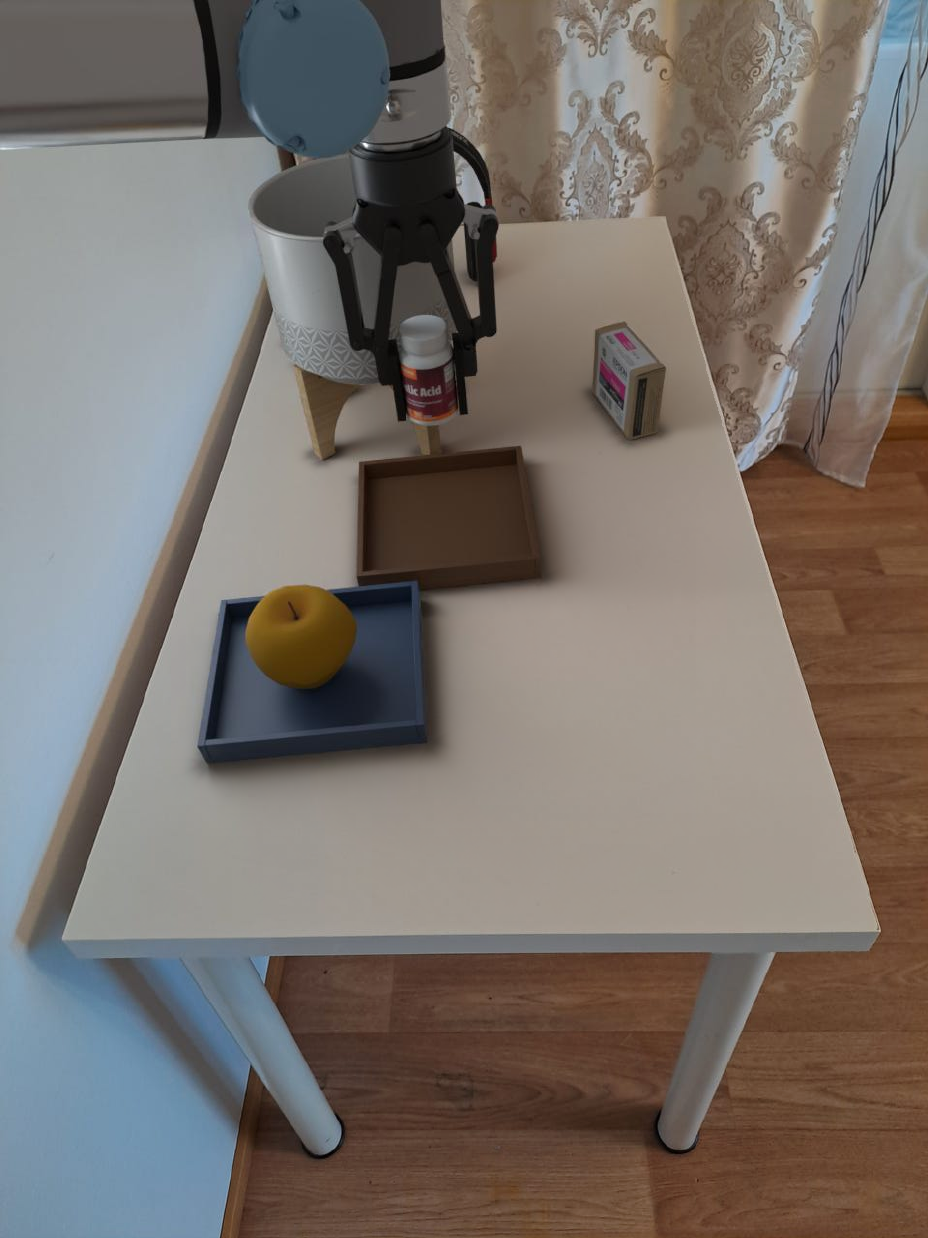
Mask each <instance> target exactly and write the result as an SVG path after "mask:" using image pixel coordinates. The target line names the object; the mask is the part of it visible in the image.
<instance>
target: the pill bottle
mask: <svg viewBox="0 0 928 1238" xmlns="http://www.w3.org/2000/svg"><path fill="white" fill-rule="evenodd" d="M399 336H400V344H401V347H400V349H399V352H398V360H399V366H400V372H401V380H402V386H403V393H404V401H405V407H406V417H407V419H409V420H410V422H412V421H413V422H414V423H417V424H420V425H425V426H435V425H443V424H446V423H447V422H450V421H451V420H452V419H454V417H455V416H456V415H457V413H458V411H459V403H458V393H457V382H456V372H455V362H454V351H453V344H452V342H451V343H450V342H449V341H448V332H447V325H446V323H445V321H444V320H443V319H441V318H439V317H437V316H433V315H419V316H415V317H412V318H409V319H407V320H406V321H404V322H403V323H402V324H401V325H400V327H399Z"/></svg>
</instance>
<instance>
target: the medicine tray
mask: <svg viewBox="0 0 928 1238" xmlns="http://www.w3.org/2000/svg"><path fill="white" fill-rule="evenodd" d="M523 453H524V452H523V448H522V445H513V446H503V447H502V446H501V447H492V448H481V449H471V450H463V451H462V450H461V451H451V452H442V454H432V455H423V454H422V455H412V456H403V457H393V458H392V457H391V458H383V459H374V460H364V461H363V460H361V461H359V462H358V481H357V483H358V484H357V485H358V486H357V487H358V488H357V533H356V534H357V535H356V575H355V576H356V580H357V581H356V582H357V585H358V586H357V587H360V586H370V585H380V584H390V583H400V582H410V581H411V582H412V581H418V585H419V591H420V590H429V589H430V590H431V589H441V588H450V587H460V586H461V587H462V586H470V585H471V586H473V585H481V584H490V583H500V582H501V583H503V582H511V581H521V580H533V579H540V578H542V556H541V551H540V544H539V539H538V532H537V527H536V522H535V516H534V510H533V504H532V498H531V494H530V493H531V492H530V488H529V483H528V477H527V471H526V466H525V465H526V464H525V460H524V459H525V458H524V454H523Z"/></svg>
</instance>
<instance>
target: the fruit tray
mask: <svg viewBox="0 0 928 1238" xmlns="http://www.w3.org/2000/svg"><path fill="white" fill-rule="evenodd" d="M326 590H327V591H330V592H331V593H332V594H333V595H334V596H335V597H337V598H338V599H339V600H340V601H341V602H342V603H344V604H345V605H346V606H347V608H348V609H349V610H350V611H351V613H352V615H353V617H354V619H355V622H356V625H357V633H356V639H355V644H354V646H353V648H352V650H351V652H350V654H349V656H348V657H347V659H346V661H345V662H344V664H343V665H342V667H341V668H340V669H339V671H338V672H337V673H336V674H335V675H334V676H333V677H332V678H331V679H330V680H329V681H328V682H327V683H326V684H324V685H322V686H320V687H317V688H315V689H296V688H292V687H288V686H284V685H280V684H278V683H276V682H275V681H273V680H272V679H270V678H268V677H267V676H265V675H264V674H263V672H262V671H261V670H260V669H259V668H258V667H257V666H256V664H255V662H254V660H253V658H252V656H251V653H250V651H249V649H248V647H247V645H246V637H245V632H246V628H247V624H248V620H249V617H250V616H251V614H252V612H253V611H254V609H255V607H256V606H257V605H258V603H259V602H260V601H261V599H262V598H263V597H265V596H266V595H260V596H249V597H238V598H230V599H221V600H220V605H219V610H218V618H217V622H216V623H217V624H216V630H215V635H214V642H213V647H212V648H213V649H212V654H211V661H210V665H209V673H208V678H207V686H206V691H205V697H204V703H203V710H202V716H201V723H200V729H199V734H198V740H197V741H198V742H197V748H198V750H199V752H200V755H201V756H202V758H203V760H204V762H205V764H206V765H212V764H222V763H231V762H232V763H233V762H242V761H252V760H254V761H255V760H263V759H272V758H283V757H294V756H303V755H305V756H306V755H313V754H316V755H317V754H324V753H326V754H327V753H335V752H346V751H356V750H364V749H365V750H366V749H376V748H386V747H387V748H388V747H397V746H398V747H399V746H406V745H416V744H417V745H418V744H427V743H428V730H427V729H428V728H427V705H426V685H425V665H424V664H425V662H424V659H425V658H424V641H423V639H424V638H423V636H424V635H423V618H422V598H421V591H420V590H419V585H418V581H412V582H411V581H410V582H400V583H390V584H380V585H370V586H360V587H359V586H350V587H341V588H331V589H326Z"/></svg>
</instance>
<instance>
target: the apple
mask: <svg viewBox="0 0 928 1238" xmlns="http://www.w3.org/2000/svg"><path fill="white" fill-rule="evenodd" d="M327 590H328V589H324V588H323V587H321V586H320V587H319V586H316V585H309V584H295V585H284V586H282V587H279V588H276V589H274V590H271V591H270V592H268V593H267V594H266V595H264V596H265V597H263V598H262V599H261V601H260V602H259V603H258V605H257V606H256V607H255V609H254V611H253V612H252V614H251V616H250V617H249V620H248V624H247V628H246V632H245V637H246V645H247V647H248V649H249V651H250V653H251V656H252V658H253V660H254V662H255V664H256V666H257V667H258V668H259V669H260V670H261V671H262V672H263V674H264V675H265V676H267V677H268V678H270V679H272V680H273V681H275V682H276V683H278V684H280V685H284V686H288V687H292V688H296V689H315V688H317V687H320V686H322V685H324V684H326V683H327V682H328V681H329V680H330V679H331V678H332V677H333V676H334V675H335V674H336V673H337V672H338V671H339V669H340V668H341V667H342V665H343V664H344V662H345V661H346V659H347V657H348V656H349V654H350V652H351V650H352V648H353V646H354V644H355V639H356V633H357V625H356V622H355V619H354V617H353V615H352V613H351V611H350V610H349V609H348V608H347V606H346V605H345V604H344V603H342V602H341V601H340V600H339V599H338V598H337V597H335V596H334V595H333V594H332V593H331V592H330V591H327Z"/></svg>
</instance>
